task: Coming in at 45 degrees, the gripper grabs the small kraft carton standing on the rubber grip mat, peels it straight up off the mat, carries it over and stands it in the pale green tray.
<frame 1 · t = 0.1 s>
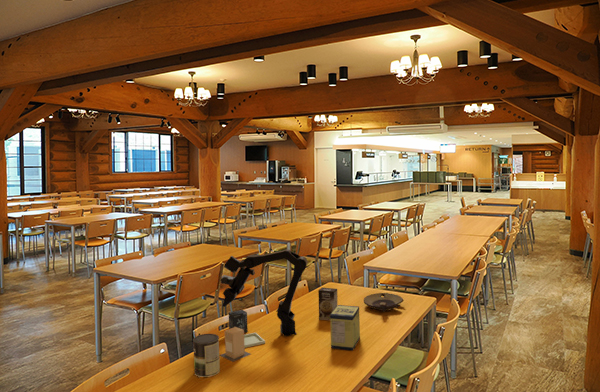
hand: (226, 303, 220), 15 cm above the table, tool tilted 30°, fingers open, 9 cm apart
protein box: (345, 343, 202), on the table
tray: (248, 342, 207), on the table
coffee box: (328, 318, 237), on the table
carton: (235, 354, 193), resting on grip mat
box: (238, 333, 220), on the table
coffee can: (207, 372, 178), on the table
grip mat: (235, 355, 193), on the table
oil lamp: (381, 309, 250), on the table
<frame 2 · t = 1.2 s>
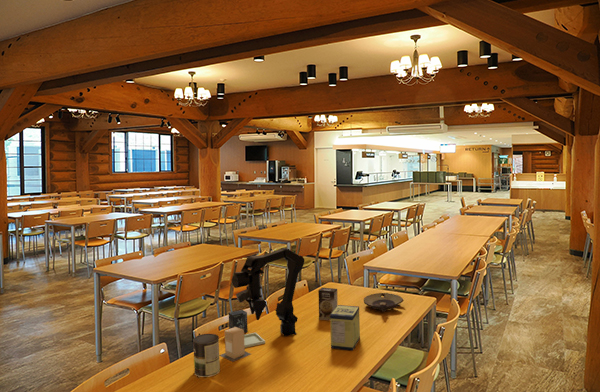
hand: (255, 316, 204), 13 cm above the table, tool pointing down, fingers open, 9 cm apart
nothing on the table moved.
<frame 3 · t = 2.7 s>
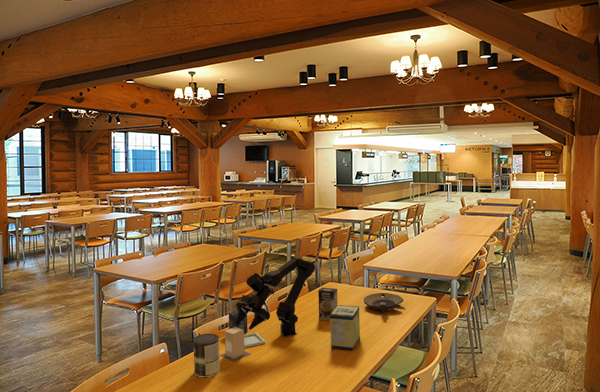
hand: (242, 327, 196), 11 cm above the table, tool tilted 45°, fingers open, 9 cm apart
nothing on the table moved.
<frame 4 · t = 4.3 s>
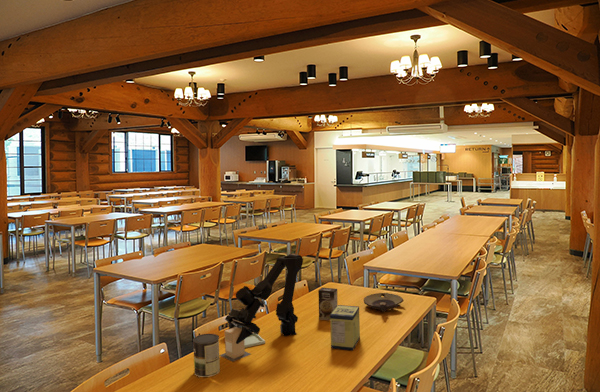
hand: (232, 341, 191), 7 cm above the table, tool tilted 45°, fingers closed on carton, 6 cm apart
carton: (235, 354, 193), resting on grip mat, touching gripper
everything else where it was.
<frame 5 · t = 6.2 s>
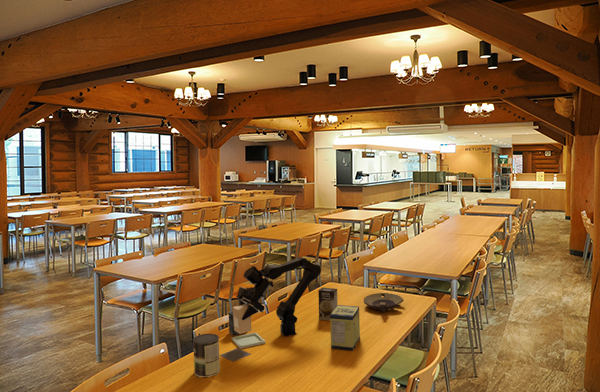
hand: (239, 317, 201), 14 cm above the table, tool tilted 45°, fingers closed on carton, 6 cm apart
carton: (242, 330, 202), point 7 cm above the table, touching gripper
everything else where it was.
when the fingers open (8 cm above the table, at t = 8.1 s): carton drops 1 cm, resting on tray.
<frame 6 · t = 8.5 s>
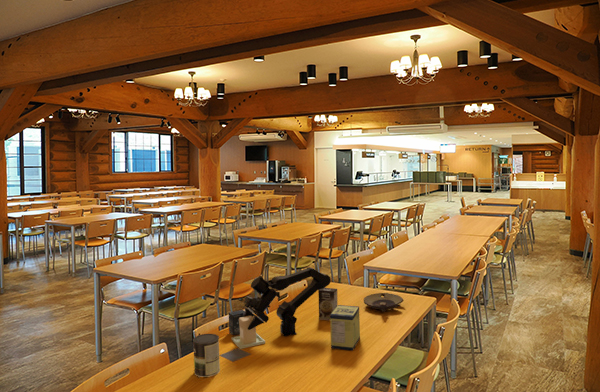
hand: (244, 326, 206), 8 cm above the table, tool tilted 45°, fingers open, 9 cm apart
carton: (248, 341, 207), resting on tray
everything else where it was.
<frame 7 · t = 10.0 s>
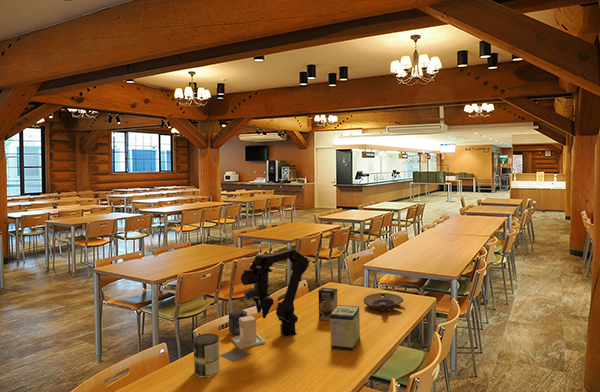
hand: (261, 315, 204), 13 cm above the table, tool pointing down, fingers open, 9 cm apart
nothing on the table moved.
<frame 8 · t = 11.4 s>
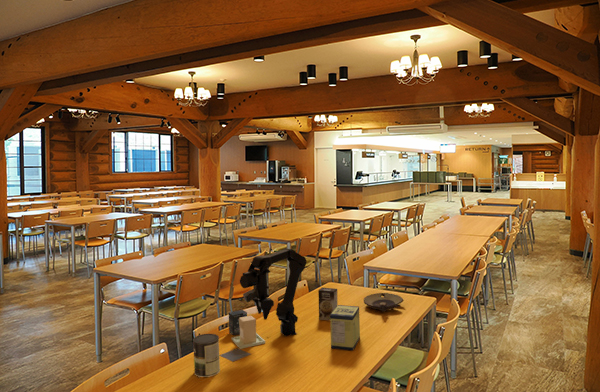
hand: (262, 316, 204), 13 cm above the table, tool pointing down, fingers open, 9 cm apart
nothing on the table moved.
at the end: carton inside the target area on the tray (0.0 cm from its centre), point 0.5 cm above the tray's base; carton tilted 0°; the gripper is holding nothing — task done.
